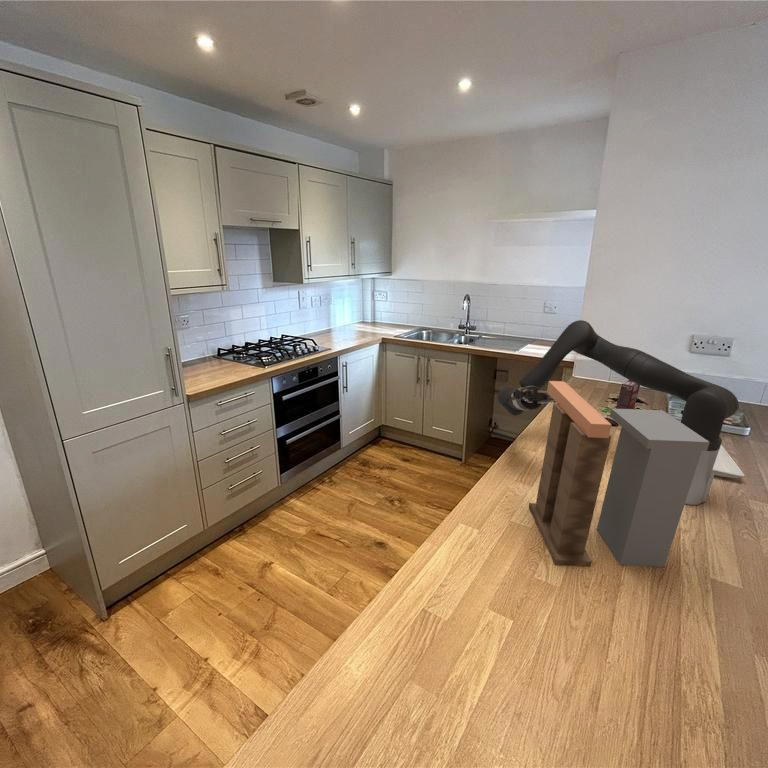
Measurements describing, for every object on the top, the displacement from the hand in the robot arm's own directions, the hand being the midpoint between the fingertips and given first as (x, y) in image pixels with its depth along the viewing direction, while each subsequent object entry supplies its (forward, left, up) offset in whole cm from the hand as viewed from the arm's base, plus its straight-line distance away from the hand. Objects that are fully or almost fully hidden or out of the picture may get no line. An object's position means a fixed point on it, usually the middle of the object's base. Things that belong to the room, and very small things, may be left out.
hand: (546, 394), depth 115 cm
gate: (0, +23, -29) cm, 37 cm away
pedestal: (-16, +24, -29) cm, 41 cm away
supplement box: (-53, -52, -29) cm, 79 cm away
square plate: (-58, -22, -29) cm, 68 cm away
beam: (+1, +19, +3) cm, 20 cm away
